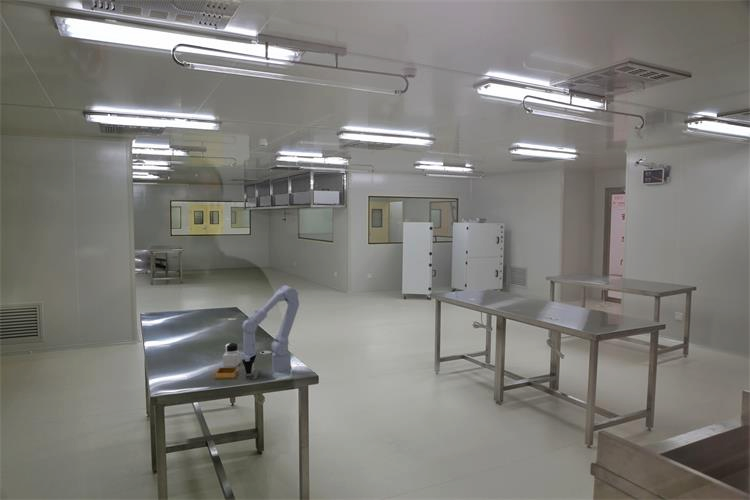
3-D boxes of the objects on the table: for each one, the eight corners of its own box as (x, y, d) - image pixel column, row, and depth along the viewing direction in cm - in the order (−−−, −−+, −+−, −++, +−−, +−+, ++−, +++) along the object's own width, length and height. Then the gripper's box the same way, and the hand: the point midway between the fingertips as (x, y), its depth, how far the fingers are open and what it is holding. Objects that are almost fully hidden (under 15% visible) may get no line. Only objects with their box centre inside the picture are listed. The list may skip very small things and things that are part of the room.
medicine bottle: (240, 364, 259) (239, 342, 259) (236, 368, 252) (236, 345, 252) (226, 364, 259) (226, 342, 258) (222, 368, 252) (222, 345, 251)
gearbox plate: (259, 372, 246) (259, 365, 246) (256, 380, 233) (256, 373, 233) (219, 373, 244) (219, 366, 244) (213, 382, 231) (213, 374, 231)
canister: (254, 373, 241) (254, 359, 241) (253, 375, 237) (253, 361, 237) (246, 373, 241) (246, 359, 240) (244, 376, 237) (244, 362, 236)
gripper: (243, 340, 245) (243, 367, 246) (238, 348, 230) (238, 376, 231) (257, 340, 246) (257, 366, 247) (253, 348, 231) (253, 376, 232)
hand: (249, 371), depth 239 cm, fingers open, 6 cm apart
